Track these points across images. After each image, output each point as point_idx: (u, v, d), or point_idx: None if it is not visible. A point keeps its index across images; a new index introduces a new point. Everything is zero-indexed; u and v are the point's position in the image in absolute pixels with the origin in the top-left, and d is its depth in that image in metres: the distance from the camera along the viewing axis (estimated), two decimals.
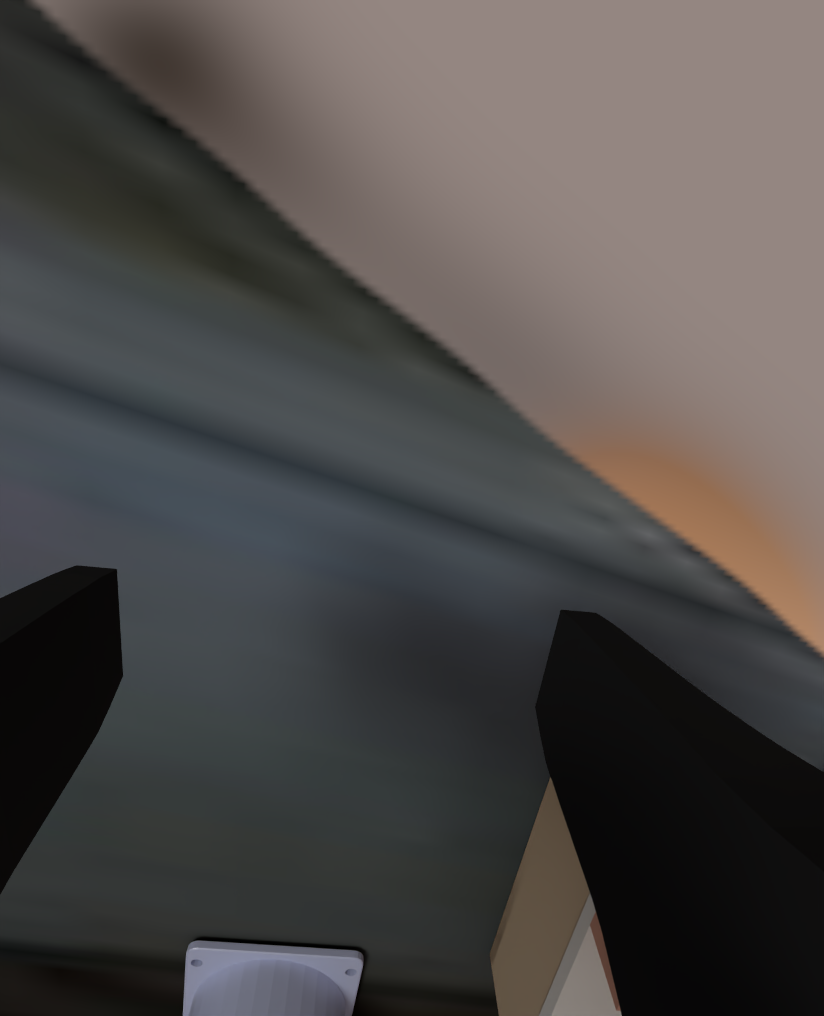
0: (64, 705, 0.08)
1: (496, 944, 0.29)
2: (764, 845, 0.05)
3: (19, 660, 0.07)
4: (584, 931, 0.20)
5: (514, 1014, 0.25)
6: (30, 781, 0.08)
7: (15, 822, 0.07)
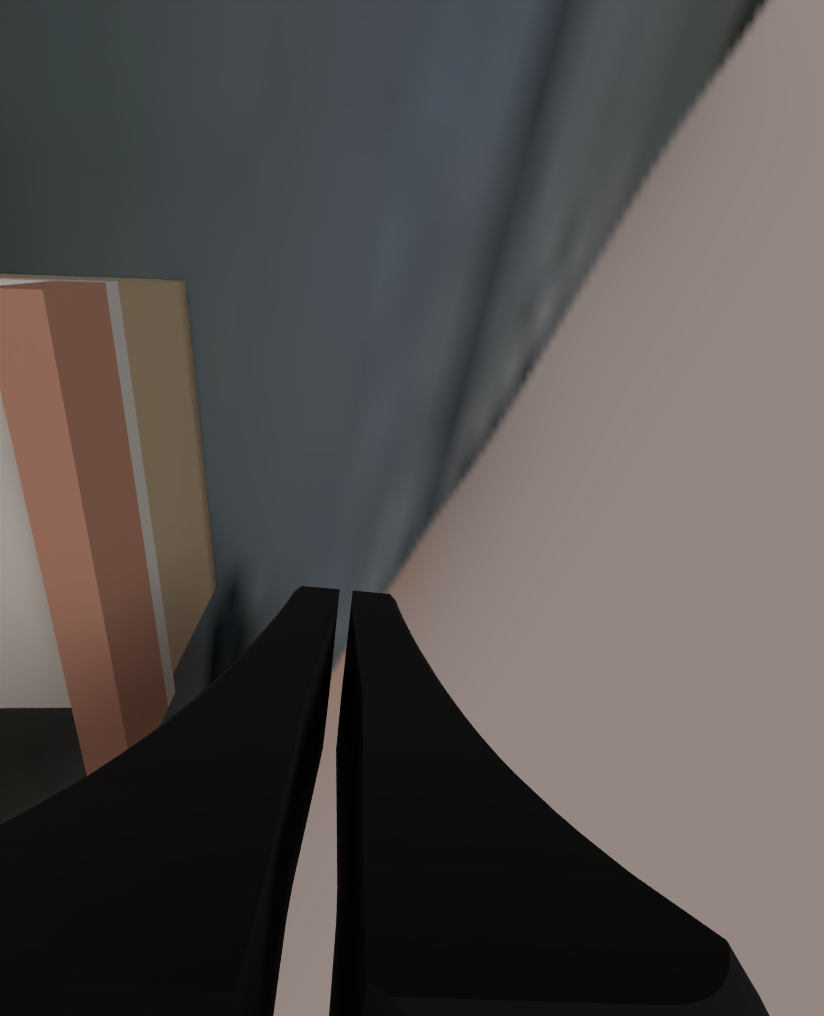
0: (319, 723, 0.08)
1: None
2: (359, 822, 0.05)
3: (316, 683, 0.07)
4: (29, 279, 0.12)
5: None
6: (305, 798, 0.08)
7: (298, 837, 0.08)
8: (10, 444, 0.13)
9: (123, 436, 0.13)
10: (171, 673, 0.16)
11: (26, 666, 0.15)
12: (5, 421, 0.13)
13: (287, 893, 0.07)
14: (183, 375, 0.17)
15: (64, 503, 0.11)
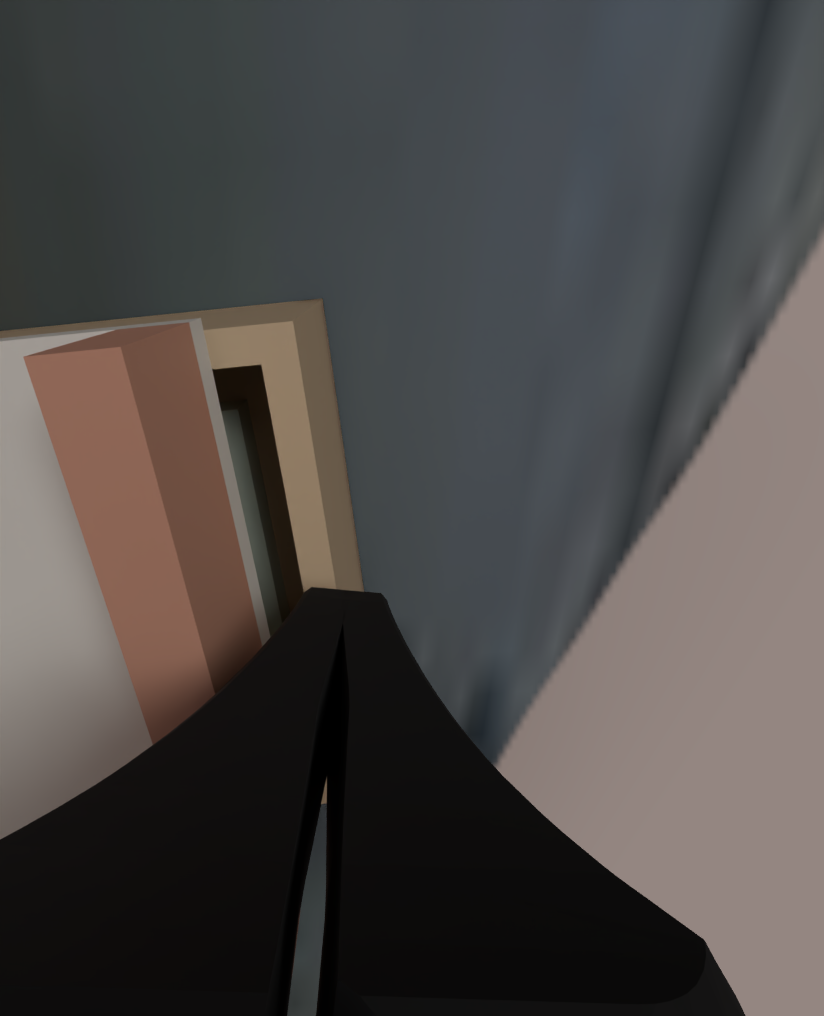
0: (330, 724, 0.08)
1: None
2: (341, 821, 0.05)
3: (329, 684, 0.07)
4: (85, 332, 0.09)
5: None
6: (316, 798, 0.08)
7: (309, 838, 0.08)
8: (82, 554, 0.10)
9: (230, 527, 0.09)
10: None
11: None
12: (72, 525, 0.10)
13: (300, 893, 0.07)
14: (334, 416, 0.14)
15: (176, 647, 0.08)
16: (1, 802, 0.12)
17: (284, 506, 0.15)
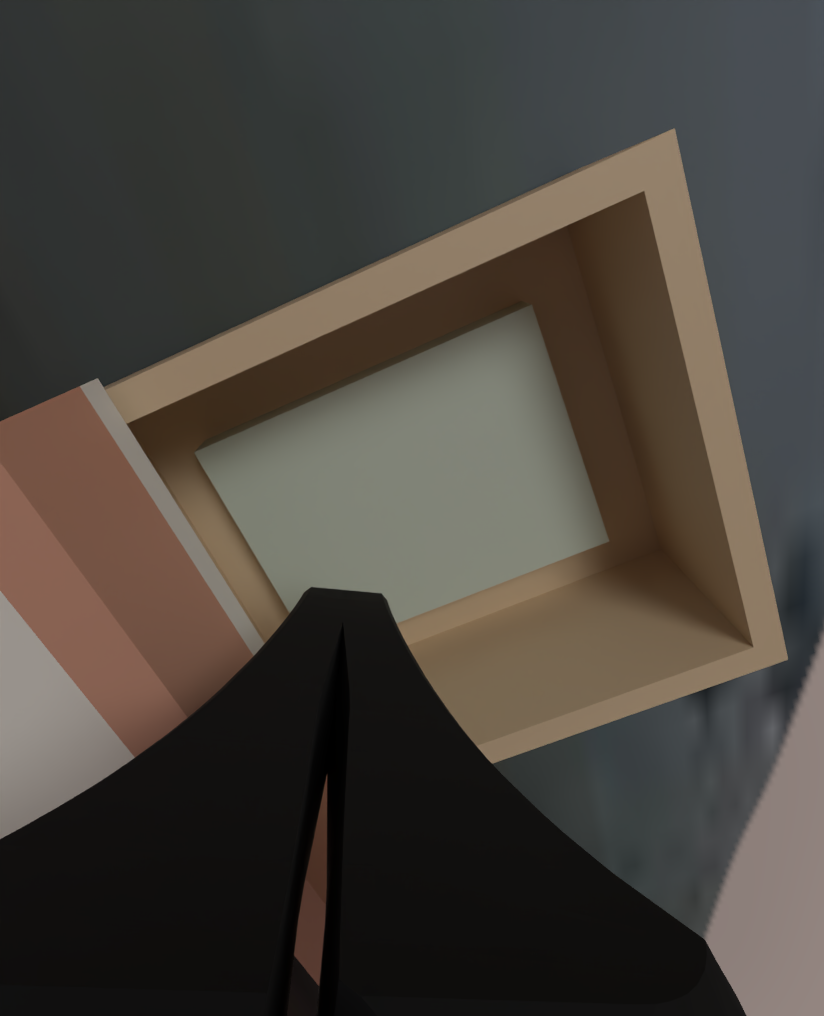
0: (330, 724, 0.08)
1: (133, 373, 0.14)
2: (343, 821, 0.05)
3: (328, 684, 0.07)
4: None
5: (106, 388, 0.11)
6: (316, 798, 0.08)
7: (309, 838, 0.08)
8: None
9: (186, 564, 0.10)
10: None
11: None
12: None
13: (300, 894, 0.07)
14: None
15: (142, 692, 0.08)
16: None
17: (573, 405, 0.15)
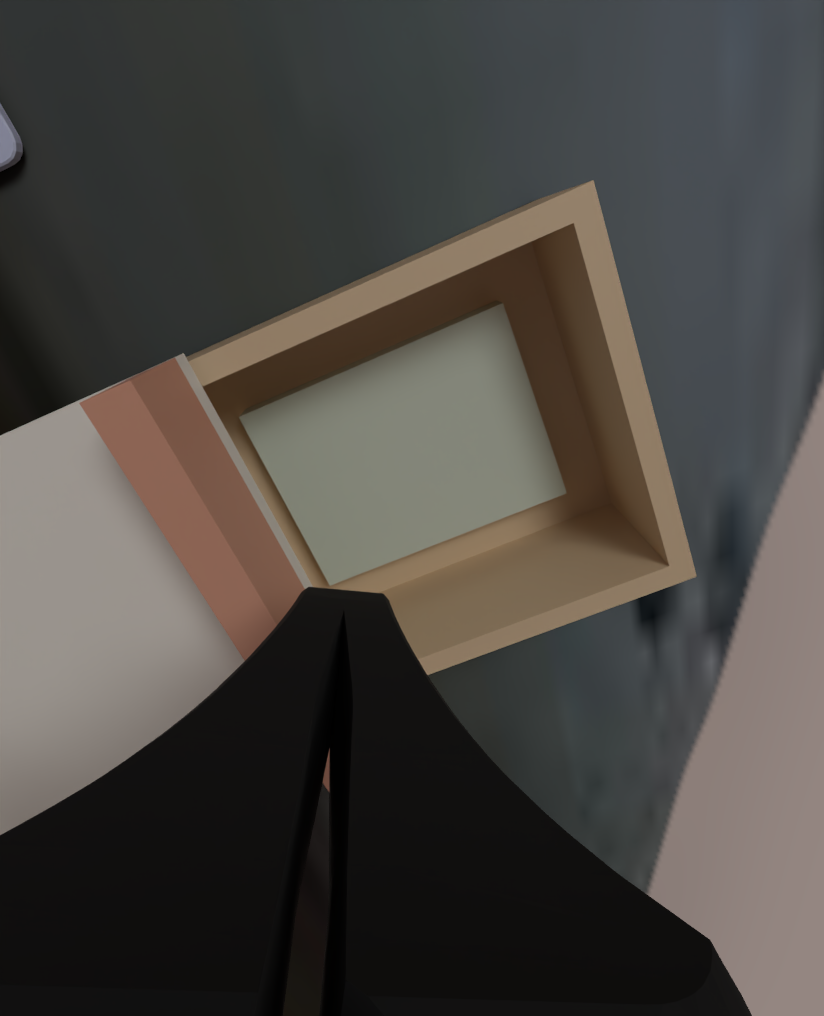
0: (327, 724, 0.08)
1: (190, 355, 0.18)
2: (346, 821, 0.05)
3: (325, 684, 0.07)
4: None
5: None
6: (313, 798, 0.08)
7: (306, 838, 0.08)
8: (155, 536, 0.14)
9: (244, 488, 0.13)
10: None
11: None
12: (144, 518, 0.14)
13: (296, 893, 0.07)
14: None
15: (222, 563, 0.12)
16: (155, 734, 0.16)
17: (538, 384, 0.18)
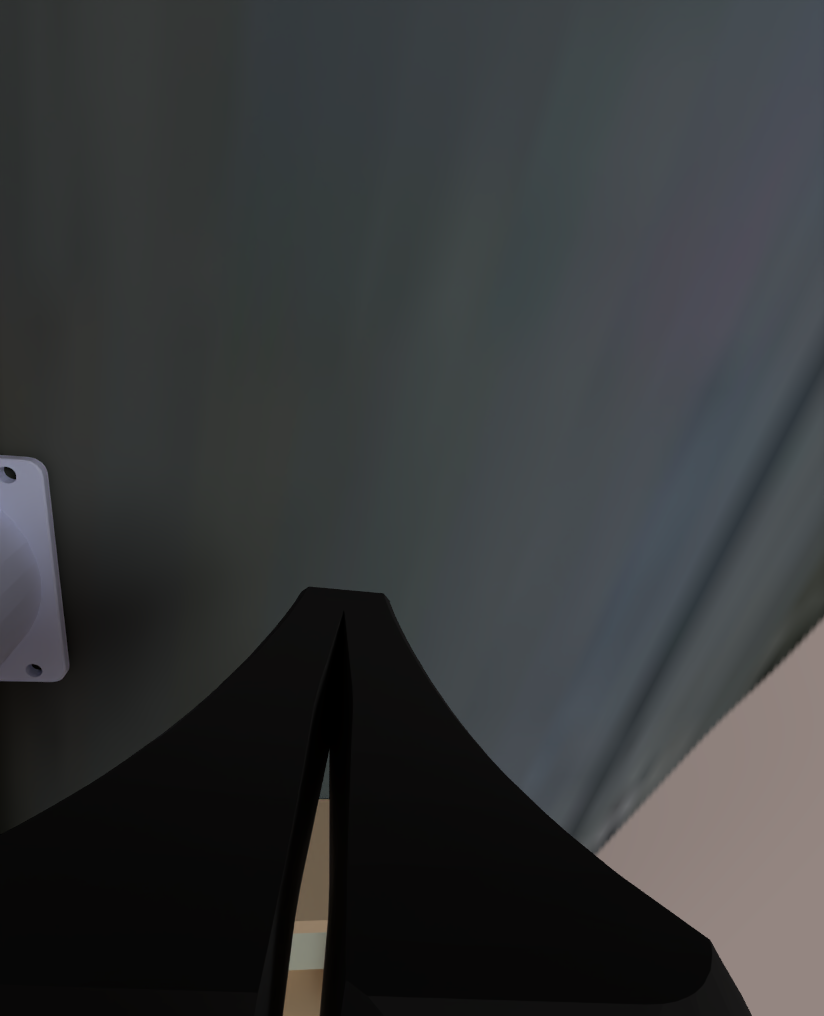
0: (327, 724, 0.08)
1: None
2: (346, 821, 0.05)
3: (325, 684, 0.07)
4: None
5: None
6: (313, 798, 0.08)
7: (306, 838, 0.08)
8: None
9: None
10: None
11: None
12: None
13: (296, 894, 0.07)
14: None
15: None
16: None
17: None
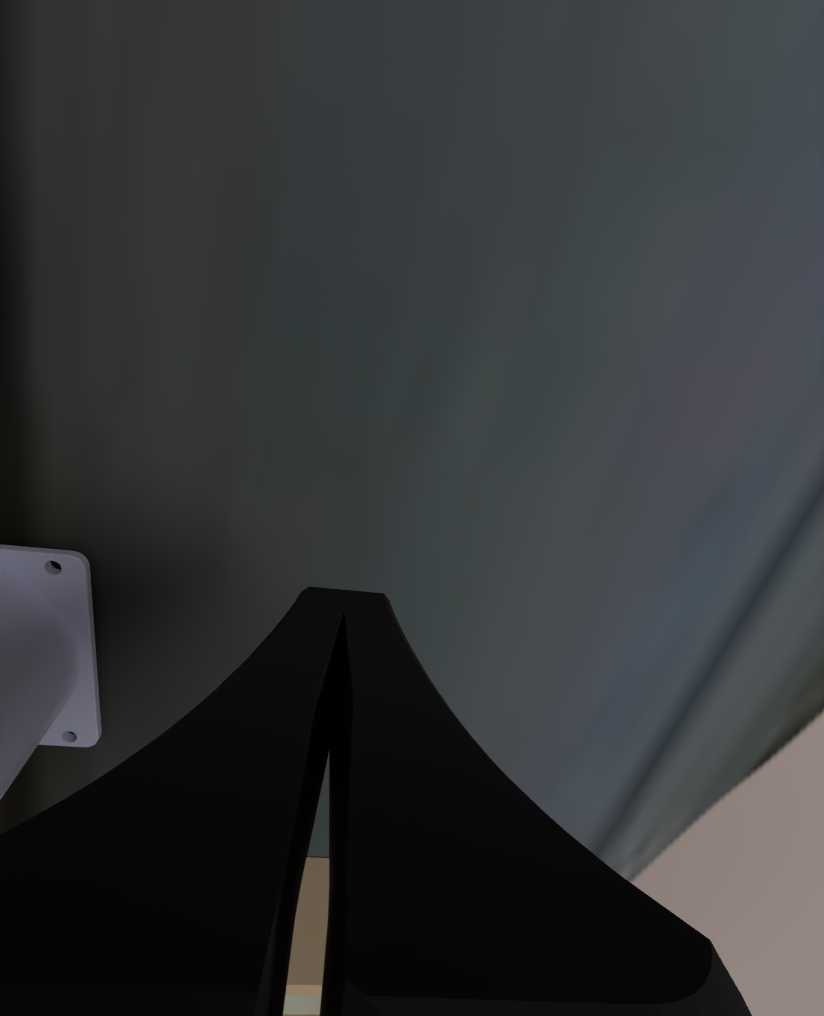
0: (327, 724, 0.08)
1: None
2: (347, 820, 0.05)
3: (325, 684, 0.07)
4: None
5: None
6: (313, 798, 0.08)
7: (306, 838, 0.08)
8: None
9: None
10: None
11: None
12: None
13: (296, 893, 0.07)
14: None
15: None
16: None
17: None
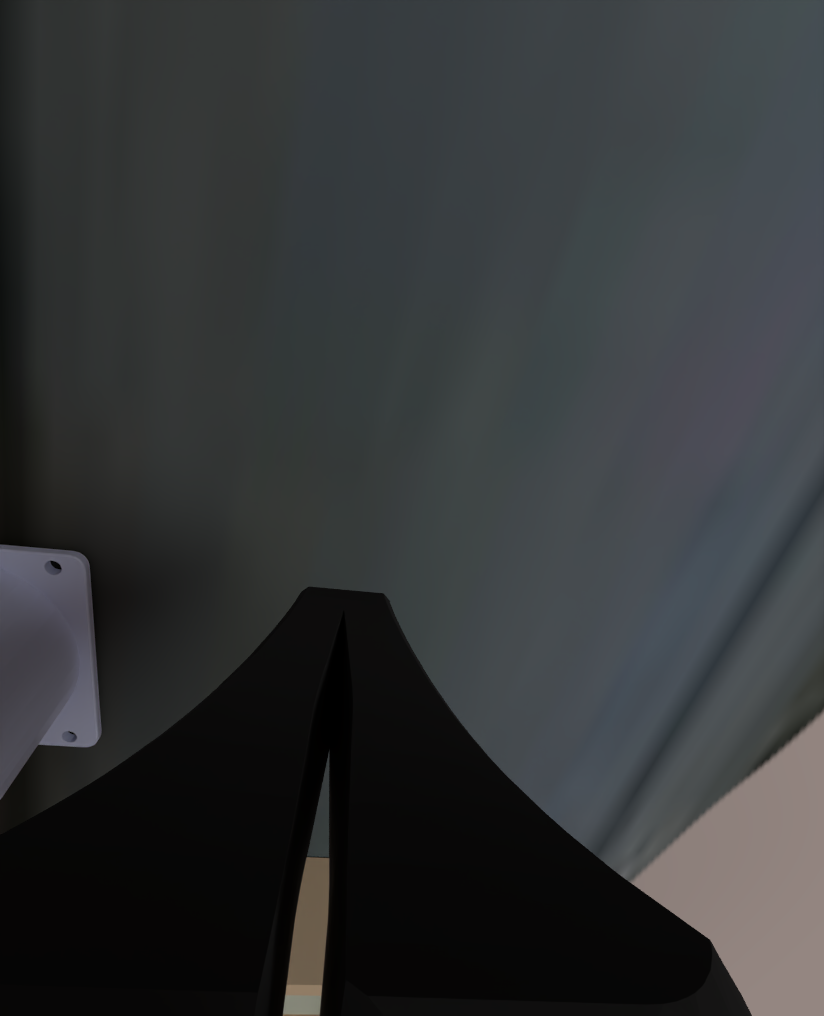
0: (327, 724, 0.08)
1: None
2: (347, 820, 0.05)
3: (325, 684, 0.07)
4: None
5: None
6: (313, 798, 0.08)
7: (306, 838, 0.08)
8: None
9: None
10: None
11: None
12: None
13: (296, 893, 0.07)
14: None
15: None
16: None
17: None
